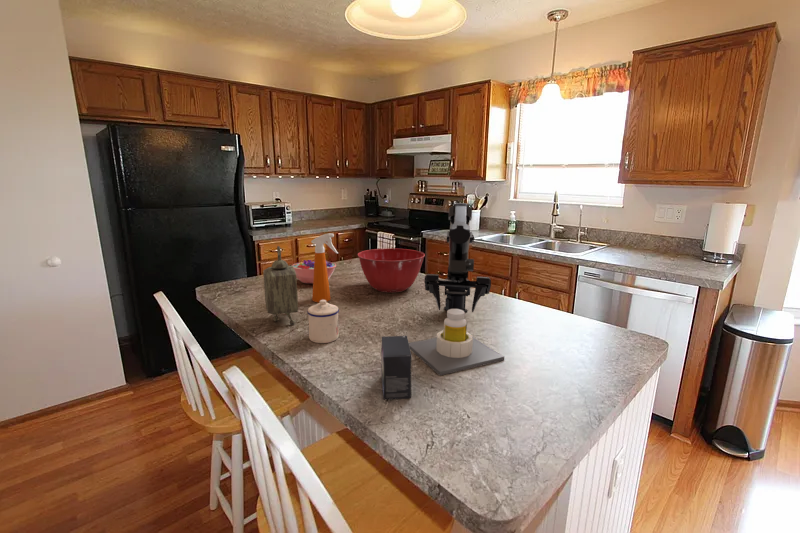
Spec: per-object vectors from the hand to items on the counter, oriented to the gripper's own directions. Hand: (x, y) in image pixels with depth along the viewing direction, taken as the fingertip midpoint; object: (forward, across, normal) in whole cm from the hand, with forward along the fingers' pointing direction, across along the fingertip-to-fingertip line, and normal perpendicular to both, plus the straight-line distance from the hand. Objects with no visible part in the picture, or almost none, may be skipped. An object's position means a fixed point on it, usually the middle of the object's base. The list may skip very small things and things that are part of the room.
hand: (455, 310), depth 106 cm
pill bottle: (+10, 0, +4) cm, 11 cm away
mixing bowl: (-30, -28, +47) cm, 62 cm away
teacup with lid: (+8, -40, +8) cm, 41 cm away
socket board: (+11, 0, +5) cm, 12 cm away
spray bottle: (-15, -50, +32) cm, 61 cm away
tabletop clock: (+1, -57, +15) cm, 59 cm away
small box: (+25, -13, -9) cm, 29 cm away
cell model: (-32, -64, +48) cm, 86 cm away
